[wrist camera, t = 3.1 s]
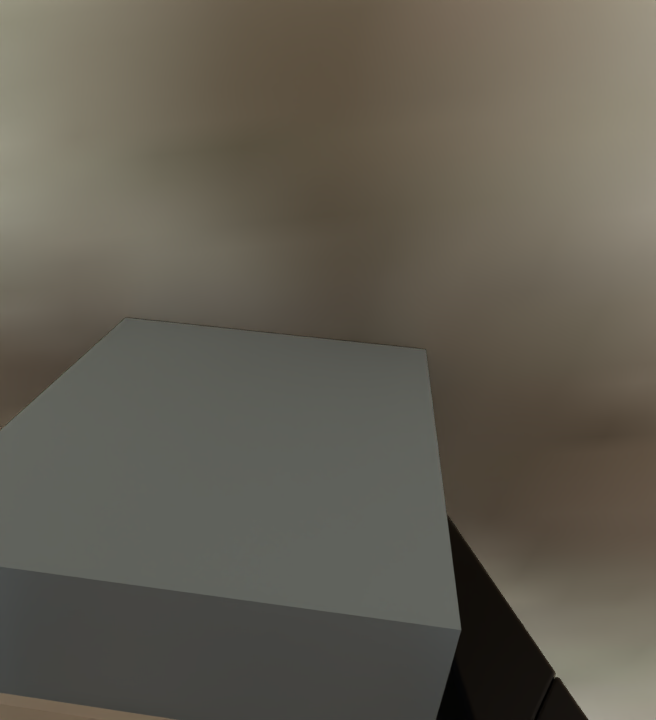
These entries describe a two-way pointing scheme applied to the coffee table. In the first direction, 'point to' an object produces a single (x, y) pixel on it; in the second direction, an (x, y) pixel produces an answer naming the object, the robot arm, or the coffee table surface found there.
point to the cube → (226, 533)
